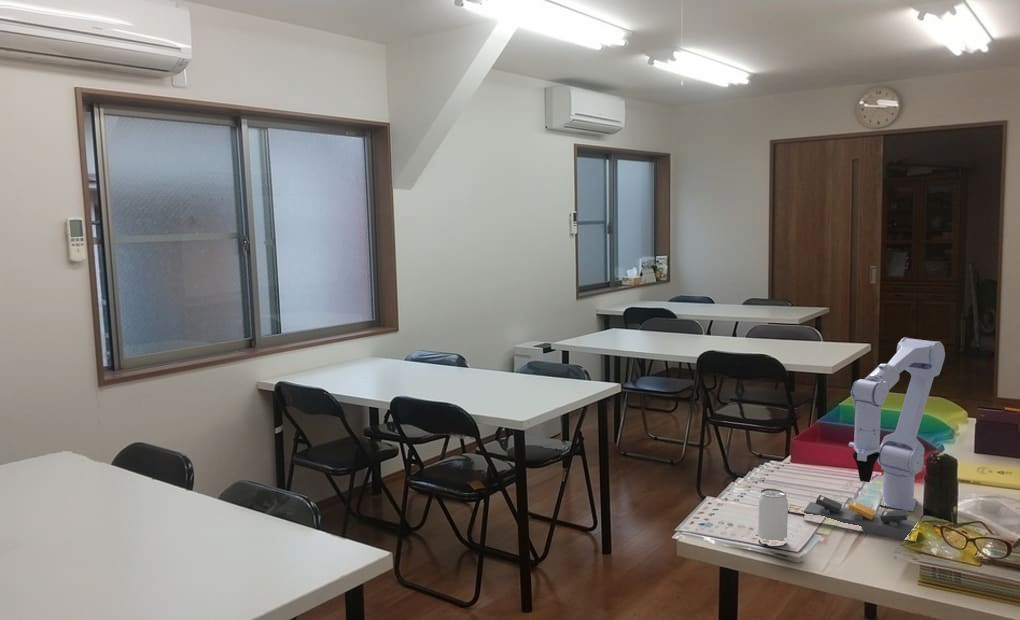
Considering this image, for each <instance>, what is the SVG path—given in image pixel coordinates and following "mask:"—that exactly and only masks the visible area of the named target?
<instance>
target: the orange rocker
mask: <svg viewBox="0 0 1020 620" xmlns="http://www.w3.org/2000/svg"><path fill="white" fill-rule="evenodd" d="M847 509H849V510H851V511H853V512H855V513H857V515H860V516H864V517H866V518H868V519H871V520H872V518H873V516H874V514H876V510H875V509H873V508H871V507H868V506H866V505H864V504H862V503H860V502H857V501H855V500H851V502H850V503H849V505H848V508H847Z"/></svg>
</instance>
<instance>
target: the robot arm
mask: <svg viewBox="0 0 1020 620" xmlns="http://www.w3.org/2000/svg"><path fill="white" fill-rule="evenodd" d="M945 358H946V352H945V346H944V344H943V343H942V342H941V341H933V340H923V339H919V338H918V339H916V338H909V337H907V336H906V337H905V336H904V337H903V338H901V339H900V341H898V343H897V346H896V353H894V355H893V356H892V358H891V359H890V360H889V361H888V362H887V363H880V364H879V365H877V367H876V368H875V369H874V370H873V371H871V373H869V374H868V375H867V376H866V377H865V378H864V379H863V378H860V379H858V380H855V381H854V382H853V384H852V386H851V390H850V397H851V399H852V406H853V409H854V435H853V439H854V440H853V441H849V443H848V447H850V448H853V449H854V452H853V453H852V457H853V460H854V462H855V464H856V467H857V472H858V477H859V481H860V482H863V483H870V481H871V479H872V476H873V472H874V468H875V465H876V462H877V463H878V465H879V466H880V467H881V468H880V469H881V470H883V477H882V478H883V481H882V496H883V497H884V500H885V503H886V504H885V506H886V508H891V509H897V510H901V511H903V510H908V512H914V509H915V508H916V504H917V500H918V499H917V497H914V496H915V495H914V494H915V478H916V477H915V476H916V475H917V474H918V473H920V472H921V471H922V469H923V467H924V463H925V462H924V461H925V458H924V455H925V451H926V449H925V447H924V445H923V444H922V443H921V442H920V441H919V439H918V438H917V436H918V433H919V430H920V427H921V426H920V425H921V421H922V419H923V416H924V412H925V409H926V406H927V402H928V398H929V395H930V392H931V389H932V385H933V382H934V378H935V377H937V376H939V375H940V373H941V371H942V368H943V365H944V361H945ZM903 371H906V372H908V373H909V374H910V376H911V377H910V380H909V383H908V387H907V390H906V394H905V397H904V400H903V404H902V406H901V407H902V408H901V411H900V414H899V417H898V420H897V421H898V422H897V424H896V428H895V431H894V432H892V433H889V434H887V435H885V436H884V437H883V439H882V441H881V442H880V440H881V419H882V417H881V415H882V405H883V404H885V403H886V400H887V398H888V395H889V393H890V390H891V389H892V388H893V387H894V386H895V385H896V384H897V383H898V382H899V380H900V377H901V376H900V374H901V373H902V372H903ZM880 443H881V444H880ZM885 506H884V507H885Z"/></svg>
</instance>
